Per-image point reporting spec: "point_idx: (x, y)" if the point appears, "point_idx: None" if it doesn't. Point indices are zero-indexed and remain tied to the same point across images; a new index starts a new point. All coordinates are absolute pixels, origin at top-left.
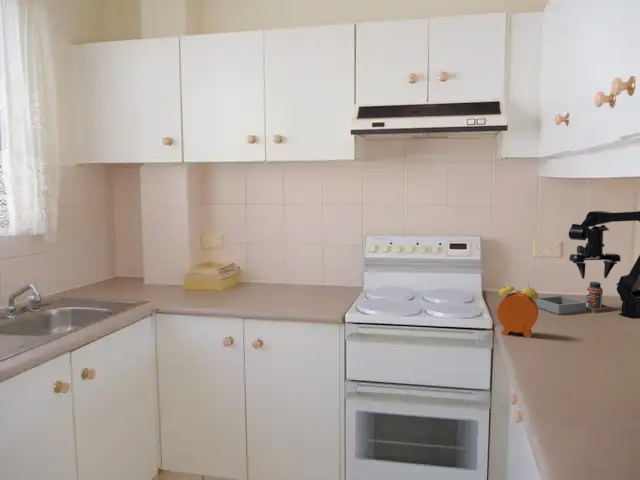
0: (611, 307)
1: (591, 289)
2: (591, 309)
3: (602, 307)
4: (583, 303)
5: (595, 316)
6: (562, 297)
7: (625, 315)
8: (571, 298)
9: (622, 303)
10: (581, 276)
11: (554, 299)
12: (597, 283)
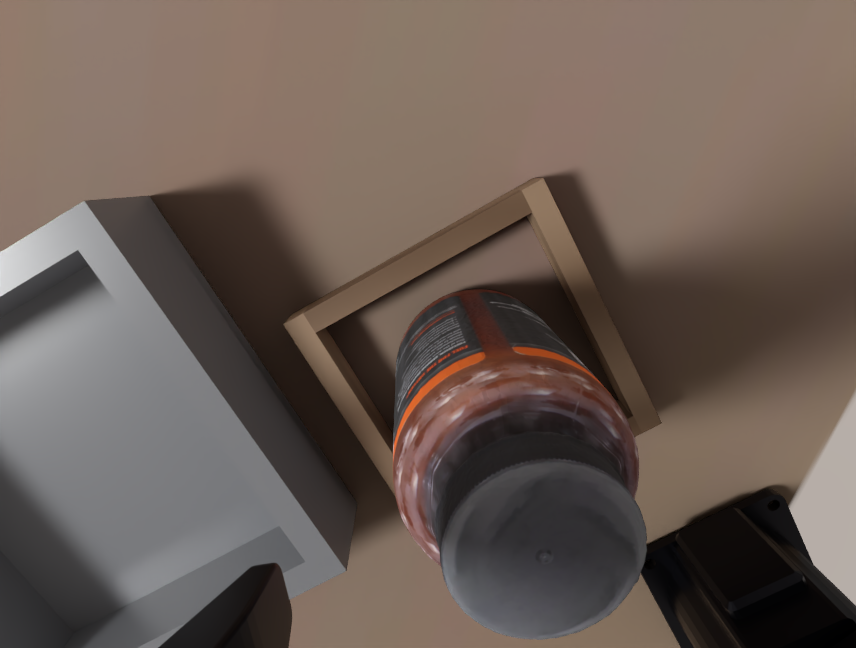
0: (642, 431)
1: (435, 560)
2: None
3: (582, 324)
4: (307, 587)
5: (399, 634)
6: (103, 271)
7: (664, 615)
8: (205, 379)
9: (726, 610)
10: (223, 590)
11: (8, 300)
12: (557, 630)
